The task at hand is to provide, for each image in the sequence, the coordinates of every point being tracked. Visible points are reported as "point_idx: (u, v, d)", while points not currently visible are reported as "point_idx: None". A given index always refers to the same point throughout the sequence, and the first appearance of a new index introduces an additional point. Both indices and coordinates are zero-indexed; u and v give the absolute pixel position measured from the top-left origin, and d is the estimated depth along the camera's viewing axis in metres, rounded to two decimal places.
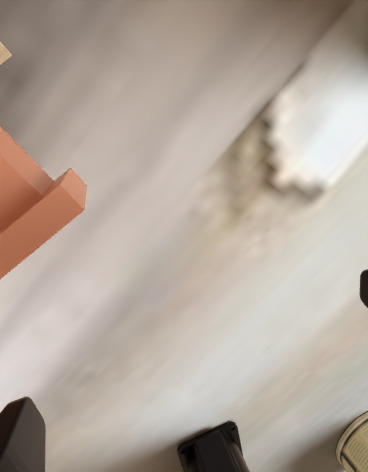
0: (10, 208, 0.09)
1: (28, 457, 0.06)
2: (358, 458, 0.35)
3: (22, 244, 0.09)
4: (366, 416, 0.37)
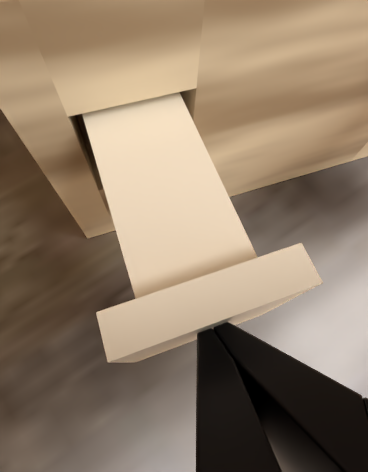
0: None
1: None
2: None
3: None
4: None
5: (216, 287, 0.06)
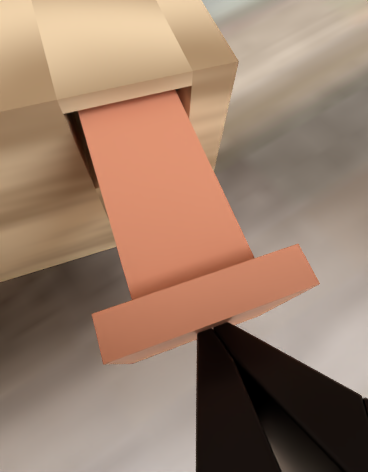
0: (216, 264, 0.07)
1: None
2: None
3: (225, 298, 0.06)
4: None
5: None
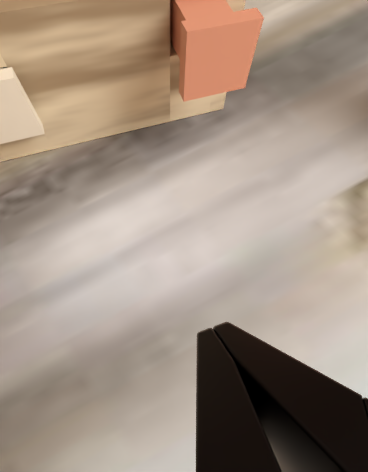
0: None
1: None
2: None
3: (228, 19, 0.17)
4: None
5: None
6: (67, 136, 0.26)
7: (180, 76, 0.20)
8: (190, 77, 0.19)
